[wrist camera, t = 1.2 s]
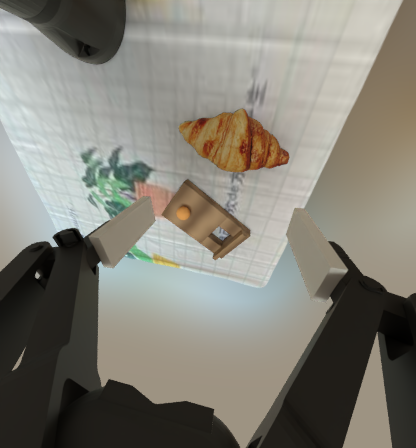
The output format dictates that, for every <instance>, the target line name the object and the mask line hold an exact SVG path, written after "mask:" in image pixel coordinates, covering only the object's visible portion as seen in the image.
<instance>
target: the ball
mask: <svg viewBox="0 0 416 448" xmlns="http://www.w3.org/2000/svg"><path fill="white" fill-rule="evenodd" d="M176 215H177V217H178V218H179V219H180V220H186V219H188V218H189V216H190V210H189V209H188V208H187V207H184V206H182V207H179V208H178V209H177V212H176Z"/></svg>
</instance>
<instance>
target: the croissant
mask: <svg viewBox="0 0 416 448" xmlns="http://www.w3.org/2000/svg"><path fill="white" fill-rule="evenodd" d="M179 131H180V132H181V133H182V135H183V137H184V139H185V140H186V141H187V142H188V143H189V144H191V145H192V146H193V147H194V148H195V149H196V151H197V152H198V154H199V155H201V156H202V157H204V158H207V159H209V160H210V161H211V162H213V163H214V164H217V167H218V168H220V169H222V170H225V171H230V172H244V171H247V170H256V169H259V168H262V167H266V168H273V167H276V166H280V165H284V164H287V163H288V160H289V154H288V152H287V151H285V150H283V149H281V148H280V146H279V143H278V141H277V139H276V138H275V137H274V136H273V135H271V134H270V133H269V132H268V131H267V130H264V129H263V127H262V125H261V124H260V122H258V121H257V120H255V119H252V118H250V117H249V116H248V114H247V112H246V111H245V110H244V109H240V110H237V111H236V112H235V113H234V114H232V113H222V114H220V115H218V116H217V117H214V118H201V119H198V120H197V121H193V122H191V121H185V122H184V123H182V124H181V125H180V126H179Z"/></svg>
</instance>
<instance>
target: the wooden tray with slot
mask: <svg viewBox="0 0 416 448" xmlns="http://www.w3.org/2000/svg"><path fill="white" fill-rule="evenodd" d="M182 206H184V207H187V208H188V209H189V210H190V216H189V218H188V219H186V220H180V219H179V218H178V217H177V215H176V212H177V209H178V208H179V207H182ZM162 216H164V217H165V218H166V219H168V220H169V221H171V222H172V223H173V224H175V225H176V226H177V227H179V228H180V229H182V230H183V231H184V232H186V233H187V234H188V235H190V236H191V237H192V238H194V239H195V240H197V241H198V242H199V243H201V244H202V245H203V246H205V247H206V248H208V249H209V250H210V251H212V252H213V253H214V255H213V259H214V260H216V259H218V258H219V257H220V258H223V257H224V256H225V255H227V254H228V253H229V252H230V251H232V250H233V249H234V248H236V247H237V246H238V245H239V244H241V243H242V242H243V241H244V240H246V239H247V238H248V237H250V230H249V229H248V228H247V227H245V226H244V225H243V224H242V223H241V222H239V221H238V220H237V219H236V218H234V217H233V216H232V215H231V214H229V213H228V212H227V211H226V210H225V209H223V208H222V207H221V206H220V205H218V204H217V203H216V202H215V201H213V200H212V199H211V198H210V197H209V196H207V195H206V194H205V193H204V192H202V191H201V190H200V189H199V188H197V187H196V186H195V185H194V184H193V183H191V182H190V181H189V180H188V179H187V180H186V181H185V182H184V183H183V185H182V186H181V187H180V189H179V190H178V192H177V193H176V195H175V196H174V197H173V199H172V200H171V202H170V203H169V205H168V206H167V208H166V209H165V210H164V212H163V213H162ZM218 226H220V227H221V228H222V229H224V230H225V231H226V232H227V233H229V234H230V235H229V236H228V237H227V238H225V239H224V240H223V241H222V240H220V239H219V238H218V237H216V236H215V235H214V234H212V232H213V231H214V230H215V229H216V228H217V227H218Z"/></svg>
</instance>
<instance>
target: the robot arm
mask: <svg viewBox="0 0 416 448" xmlns="http://www.w3.org/2000/svg"><path fill="white" fill-rule="evenodd" d="M0 8H1V9H3V10H6V11H8V12H10V13H12V14H14V15H16V16H18V17H21V18H23V19H25V20H27V21H28V22H30V23H31V24H32V25H34V26H35V27H36V28H37V29H38V30H39V31H41V32H42V33H43V34H44V35H45V36H47V37H48V38H49V39H50V40H51V41H53V42H54V43H55V44H56V45H57V46H58V47H60V48H61V49H62V50H63V51H65V52H66V53H68V54H69V55H71V56H73V57H75V58H77V59H80V60H82V61H85V62H87V63H91V64H101V63H104V62H106V61H108V60H109V59H110V58H111V57H113V55H114V54H115V53H116V51H117V50H118V48H119V46H120V43H121V40H122V37H123V33H124V26H125V0H0ZM155 221H156V220H155V216H154V211H153V206H152V201H151V197H148V196H143V197H141V198H140V199H139V200H137V201H136V202H135V203H133V204H132V205H131V206H129V207H128V208H126V209H125V210H124V211H122V212H121V213H120V214H118V215H117V216H116V217H114V218H113V219H111V220H109V221H107V222H105V223H104V224H102V225H101V226H100V227H98V228H97V229H95V230H94V231H93V232H91V233H90V234H89V235H87V236H86V237H84V238H83V237H82V235H81V234H80V232H79V230H78V229H76V228H70V229H65V230H62V231H60V232H58V233H56V234H55V235H54V236H53V239H54V240H55V242H56V243H57V245H58V246H59V247H52V246H51V245H50V243H49V242H46V241H44V242H37V243H35V244H31V245H30V246H28V247H26V248H25V249H24V250H22V252H20V253H19V254H18V255H17V256H16V257H15V258H14V259H13V260H12V261H11V262H10V263H9V264H8V265H7V266H6V267H5V268H4V269H3V270H2V271H1V272H0V448H240V446H239V444H238V442H237V441H236V439H235V437H234V436H233V434H232V433H231V432H230V430H229V429H228V428H227V426H226V425H225V424H224V423H223V422H222V421H221V420H220V419H218V418H217V417H216V416H214V415H213V413H214V409H212V408H209V407H204V406H201V405H198V404H195V403H191V402H188V401H183V402H173V403H164V404H154V403H152V402H151V401H150V400H149V399H148V398H146V397H145V396H144V395H143V394H142V393H140V392H139V391H138V390H137V389H136V388H134V387H133V386H131V385H128V384H124V383H121V382H117V381H114V380H110V379H109V380H108V382H107V383H106V385H105V386H104V387H101V382H100V377H99V374H98V371H97V342H98V337H97V336H98V283H99V280H98V279H99V267H98V265H97V264H98V263H99V262H100V261H101V262H102V264H103V266H104V267H108V268H114V267H115V266H116V265H117V263H118V262H119V261H120V260H121V259H122V258H123V257H124V256H125V255H126V253H127V252H128V251H129V250H130V249H131V248H132V247H133V246H134V245H135V243H136V242H137V241H138V240H139V239H140V238H141V237H142V236H143V234H144V233H145V232H146V231H147V230H148V229H149V228H150V227H151V226H152V224H153V223H154V222H155ZM286 235H287V238H288V241H289V243H290V246H291V248H292V251H293V254H294V256H295V259H296V261H297V264H298V267H299V269H300V272H301V274H302V277H303V280H304V282H305V284H306V287H307V290H308V292H309V295H310V298H311V300H314V301H320V302H326V301H327V300H328V298H329V297H331V299H332V301H333V304H332V306H331V307H330V308H329V310H328V311H327V312H326V315H325V317H324V319H323V320H322V322H321V324H320V326H319V327H318V329H317V331H316V332H315V334H314V336H313V337H312V339H311V341H310V343H309V344H308V346H307V348H306V349H305V351H304V353H303V354H302V356H301V358H300V359H299V361H298V363H297V365H296V366H295V368H294V370H293V371H292V373H291V375H290V376H289V378H288V380H287V381H286V383H285V385H284V386H283V388H282V390H281V392H280V393H279V395H278V397H277V398H276V400H275V402H274V403H273V405H272V407H271V409H270V410H269V412H268V413H267V415H266V417H265V418H264V420H263V421H262V423H261V424H260V426H259V427H258V429H257V430H256V432H255V433H254V435H253V437H252V439H251V440H250V442H249V443H248V445H247V447H246V448H342V447H343V444H344V441H345V437H346V434H347V431H348V427H349V424H350V420H351V417H352V414H353V410H354V407H355V404H356V400H357V397H358V394H359V390H360V387H361V383H362V380H363V377H364V374H365V370H366V367H367V363H368V360H369V357H370V354H371V350H372V347H373V344H374V340H375V337H376V333H377V332H378V340H379V347H380V355H381V363H382V371H383V378H384V386H385V394H386V402H387V409H388V417H389V424H390V432H391V440H392V448H416V293H414V294H412V295H410V296H409V297H408V298H404V297H401V296H398V295H395V294H392V293H389V292H387V290H386V289H385V288H384V287H383V286H382V285H381V284H380V283H379V282H377V281H375V280H374V279H372V278H369V277H367V276H363V274H362V273H361V272H360V270H359V269H358V268H357V267H356V265H355V264H354V263H353V262H352V261H351V259H349V257H348V255H347V254H346V253H345V251H344V250H343V249H342V248H341V247H340V246H339V245H338V244H336V243H335V242H331V241H327V240H326V238H325V237H324V235H323V234H322V232H321V231H320V230H319V228H318V227H317V226H316V224H315V223H314V221H313V220H312V218H311V217H310V216H309V214H308V213H307V211H306V210H305V209H302V208H295V209H294V212H293V215H292V218H291V221H290V224H289V227H288V230H287V233H286ZM36 272H38V273H39V275H40V277H39V278H38V279H36V278H35V274H36ZM25 347H26V349H25ZM24 349H25V351H24V354H23V357H22V360H21V363H20V365H19V366H18V368H17V369H15V370H13V371H12V369H13V368H14V366H15V364H16V362H17V361H18V359H19V357H20V356H21V354H22V352H23V350H24Z"/></svg>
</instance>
